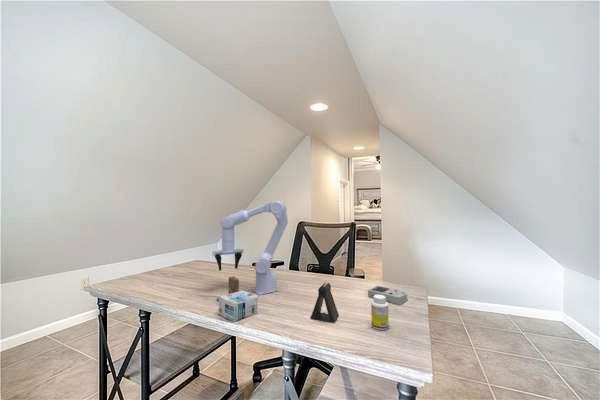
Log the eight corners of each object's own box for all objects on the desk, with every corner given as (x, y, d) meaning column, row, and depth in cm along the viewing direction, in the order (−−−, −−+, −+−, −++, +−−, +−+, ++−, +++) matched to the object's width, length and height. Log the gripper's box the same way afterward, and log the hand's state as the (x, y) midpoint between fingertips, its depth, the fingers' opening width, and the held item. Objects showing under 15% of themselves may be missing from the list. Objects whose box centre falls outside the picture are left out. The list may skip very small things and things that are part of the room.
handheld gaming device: (399, 306, 108) (399, 296, 108) (367, 297, 118) (367, 289, 119) (408, 301, 115) (408, 292, 115) (377, 293, 125) (377, 285, 125)
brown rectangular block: (234, 296, 118) (234, 276, 118) (238, 300, 113) (238, 279, 113) (228, 297, 117) (228, 277, 117) (233, 301, 112) (233, 280, 112)
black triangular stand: (339, 316, 98) (338, 283, 98) (334, 323, 92) (334, 288, 92) (316, 312, 101) (315, 281, 101) (310, 319, 96) (310, 285, 96)
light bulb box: (258, 296, 101) (234, 303, 93) (258, 313, 101) (233, 322, 93) (242, 290, 108) (218, 296, 100) (241, 306, 108) (217, 314, 100)
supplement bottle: (375, 321, 93) (375, 292, 93) (391, 326, 89) (391, 295, 90) (368, 327, 89) (368, 296, 89) (384, 332, 85) (384, 300, 85)
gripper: (214, 243, 122) (214, 272, 121) (245, 241, 128) (245, 269, 128) (211, 241, 128) (211, 269, 128) (241, 239, 135) (241, 266, 134)
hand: (228, 269), depth 128 cm, fingers open, 7 cm apart
